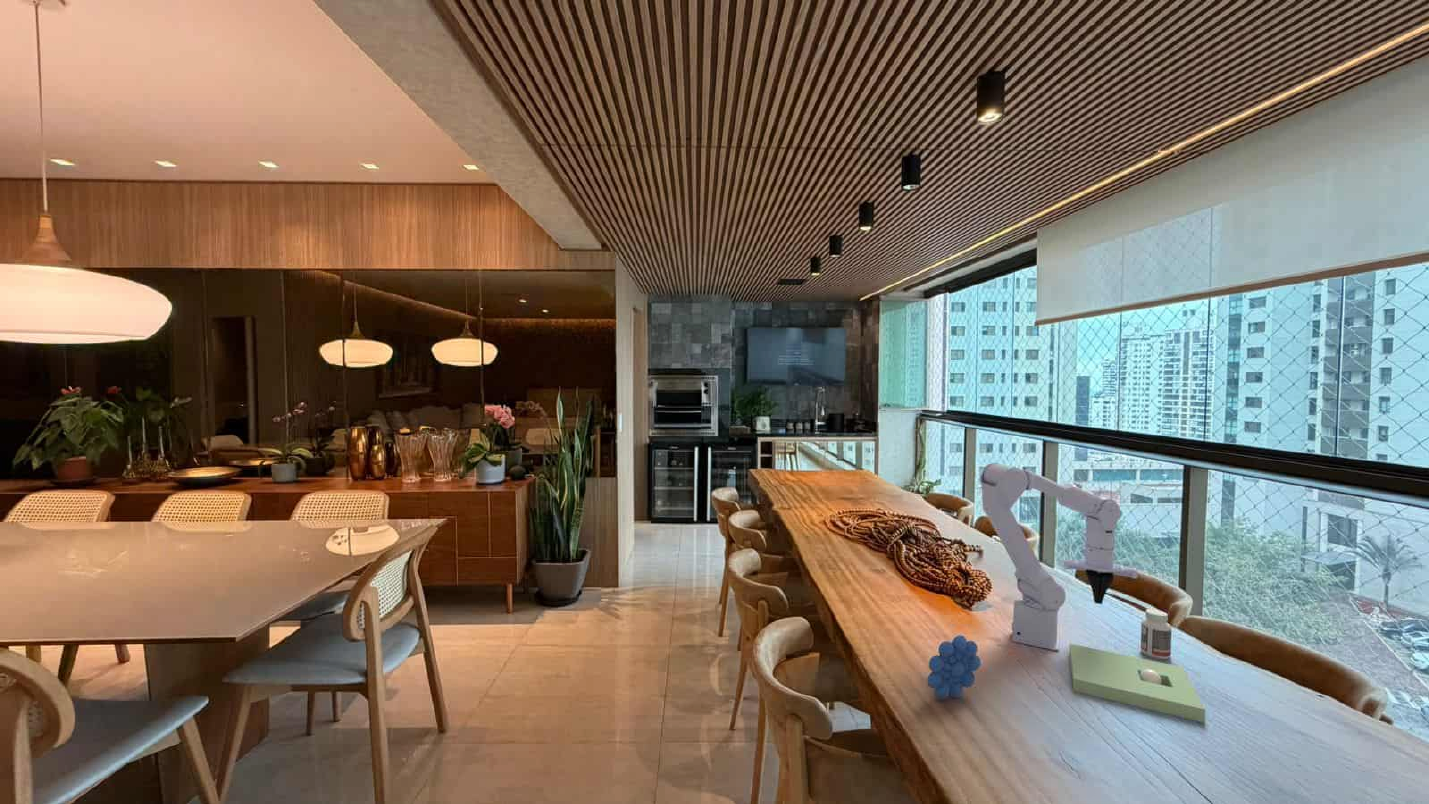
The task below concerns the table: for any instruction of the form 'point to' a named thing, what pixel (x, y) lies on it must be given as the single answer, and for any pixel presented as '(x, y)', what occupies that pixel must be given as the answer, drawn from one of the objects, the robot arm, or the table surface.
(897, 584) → the table surface
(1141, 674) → the ball
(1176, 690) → the putting mat
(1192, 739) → the table surface
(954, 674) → the grapes
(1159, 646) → the pill bottle
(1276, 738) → the table surface
